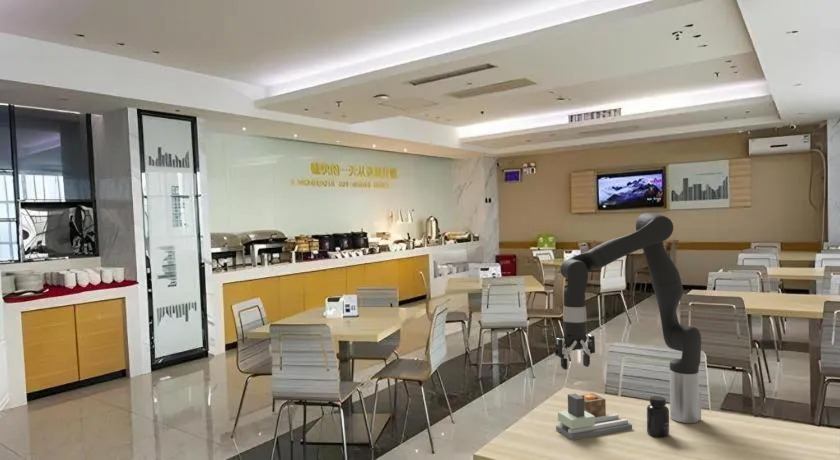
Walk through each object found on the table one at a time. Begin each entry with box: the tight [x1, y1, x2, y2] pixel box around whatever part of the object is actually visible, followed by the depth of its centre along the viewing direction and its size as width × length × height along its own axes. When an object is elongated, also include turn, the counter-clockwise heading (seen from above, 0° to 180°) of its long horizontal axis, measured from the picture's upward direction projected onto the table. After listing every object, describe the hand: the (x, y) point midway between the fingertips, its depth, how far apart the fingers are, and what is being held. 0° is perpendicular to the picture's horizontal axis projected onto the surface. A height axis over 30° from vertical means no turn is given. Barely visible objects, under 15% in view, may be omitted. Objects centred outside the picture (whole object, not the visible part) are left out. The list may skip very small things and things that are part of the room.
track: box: [555, 413, 633, 441], centre depth 186 cm, size 24×9×3 cm, turn 109°
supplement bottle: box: [646, 395, 670, 438], centre depth 181 cm, size 7×7×12 cm
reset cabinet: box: [578, 392, 607, 417], centre depth 196 cm, size 9×7×8 cm
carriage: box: [557, 393, 595, 429], centre depth 184 cm, size 9×8×9 cm
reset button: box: [583, 393, 595, 400], centre depth 196 cm, size 4×4×4 cm
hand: (575, 367), depth 184 cm, fingers open, 8 cm apart
